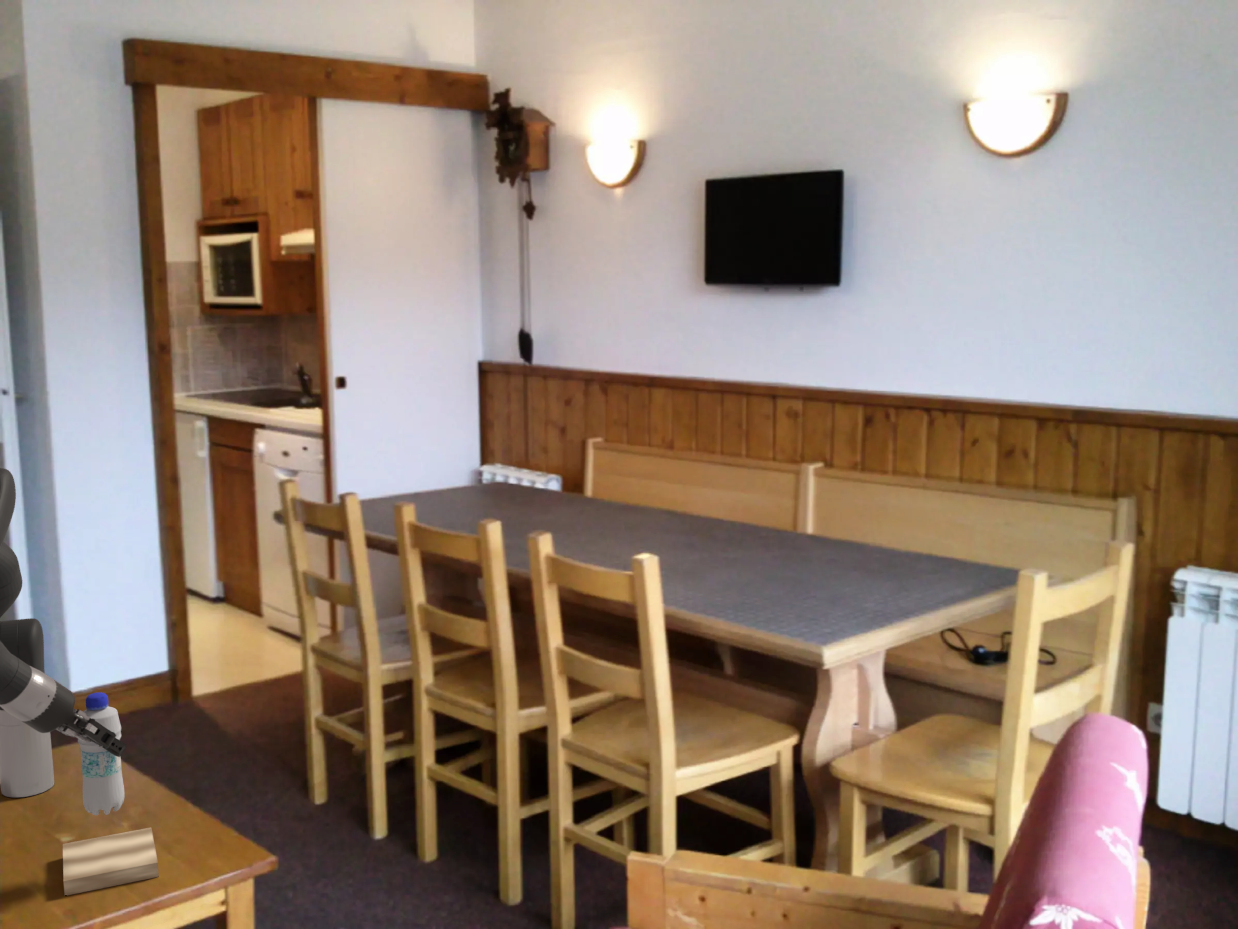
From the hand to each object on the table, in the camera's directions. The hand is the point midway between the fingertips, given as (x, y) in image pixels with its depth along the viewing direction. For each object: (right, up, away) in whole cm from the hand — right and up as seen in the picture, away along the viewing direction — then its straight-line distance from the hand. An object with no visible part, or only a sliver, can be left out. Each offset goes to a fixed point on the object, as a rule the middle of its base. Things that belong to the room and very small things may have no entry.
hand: (109, 746), depth 198 cm
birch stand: (-1, -21, +2) cm, 21 cm away
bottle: (-1, -11, 0) cm, 11 cm away
